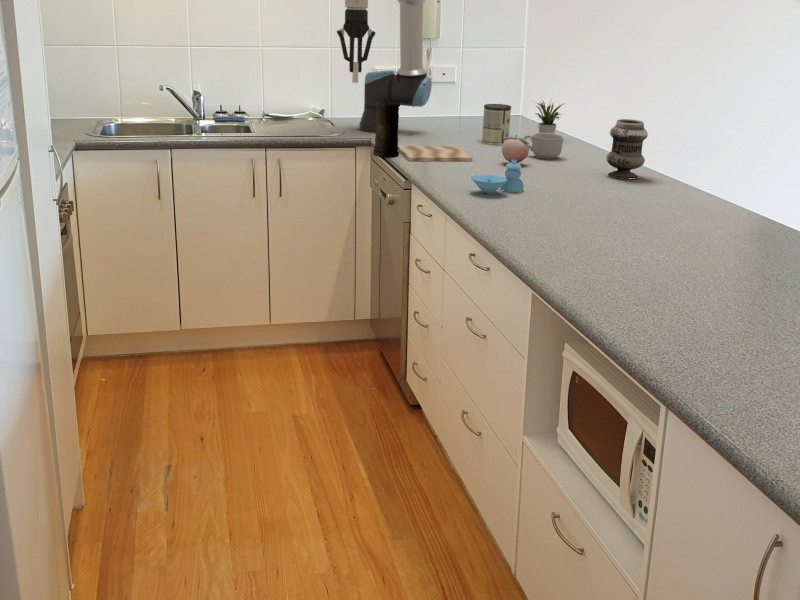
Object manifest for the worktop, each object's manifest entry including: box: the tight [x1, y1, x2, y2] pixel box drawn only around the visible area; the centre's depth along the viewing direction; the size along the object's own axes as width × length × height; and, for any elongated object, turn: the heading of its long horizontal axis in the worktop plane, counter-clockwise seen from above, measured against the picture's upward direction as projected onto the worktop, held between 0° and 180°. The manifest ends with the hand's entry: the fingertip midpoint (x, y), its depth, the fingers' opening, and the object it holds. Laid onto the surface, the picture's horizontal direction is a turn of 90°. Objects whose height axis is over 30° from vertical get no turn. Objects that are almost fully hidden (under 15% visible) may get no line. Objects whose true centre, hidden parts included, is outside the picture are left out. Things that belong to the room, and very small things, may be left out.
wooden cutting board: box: [397, 145, 473, 162], centre depth 318 cm, size 22×22×1 cm
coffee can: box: [481, 103, 512, 146], centre depth 346 cm, size 10×10×14 cm
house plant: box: [530, 98, 566, 134], centre depth 357 cm, size 14×14×16 cm
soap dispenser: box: [470, 160, 525, 195], centre depth 265 cm, size 18×10×9 cm, turn 127°
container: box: [372, 101, 401, 158], centre depth 312 cm, size 9×9×18 cm
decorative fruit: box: [501, 134, 530, 164], centre depth 306 cm, size 9×8×10 cm
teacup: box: [523, 132, 565, 160], centre depth 322 cm, size 14×11×8 cm
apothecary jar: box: [605, 118, 649, 180], centre depth 292 cm, size 12×12×18 cm
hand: (355, 82), depth 306 cm, fingers closed
